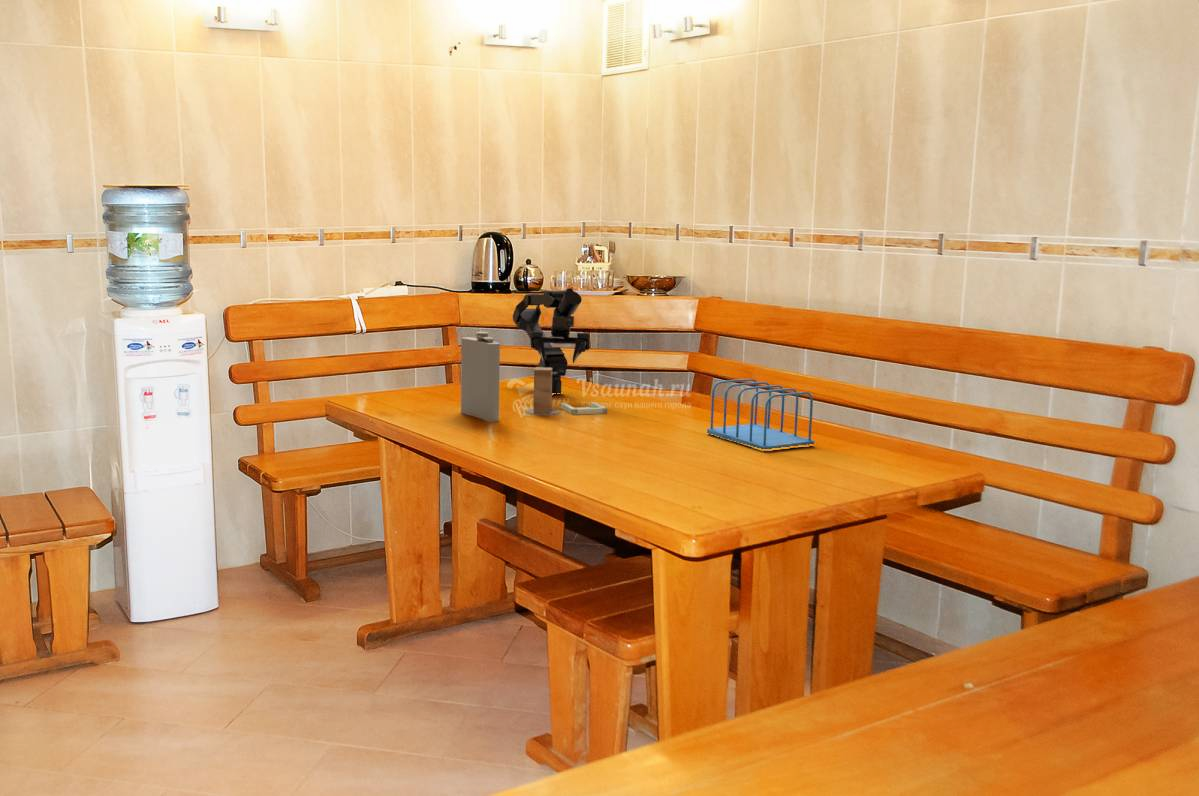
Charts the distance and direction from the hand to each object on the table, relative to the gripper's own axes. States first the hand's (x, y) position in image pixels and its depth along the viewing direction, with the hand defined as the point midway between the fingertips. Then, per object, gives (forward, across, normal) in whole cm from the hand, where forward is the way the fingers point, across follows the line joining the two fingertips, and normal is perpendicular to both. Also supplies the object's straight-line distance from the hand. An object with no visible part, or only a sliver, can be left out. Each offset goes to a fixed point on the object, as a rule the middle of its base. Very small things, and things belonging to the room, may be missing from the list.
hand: (558, 361), depth 347 cm
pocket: (+18, +9, +1) cm, 20 cm away
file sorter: (+42, +58, -23) cm, 75 cm away
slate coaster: (+21, -4, -2) cm, 21 cm away
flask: (+27, -21, -7) cm, 35 cm away
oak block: (+21, -4, -2) cm, 21 cm away
